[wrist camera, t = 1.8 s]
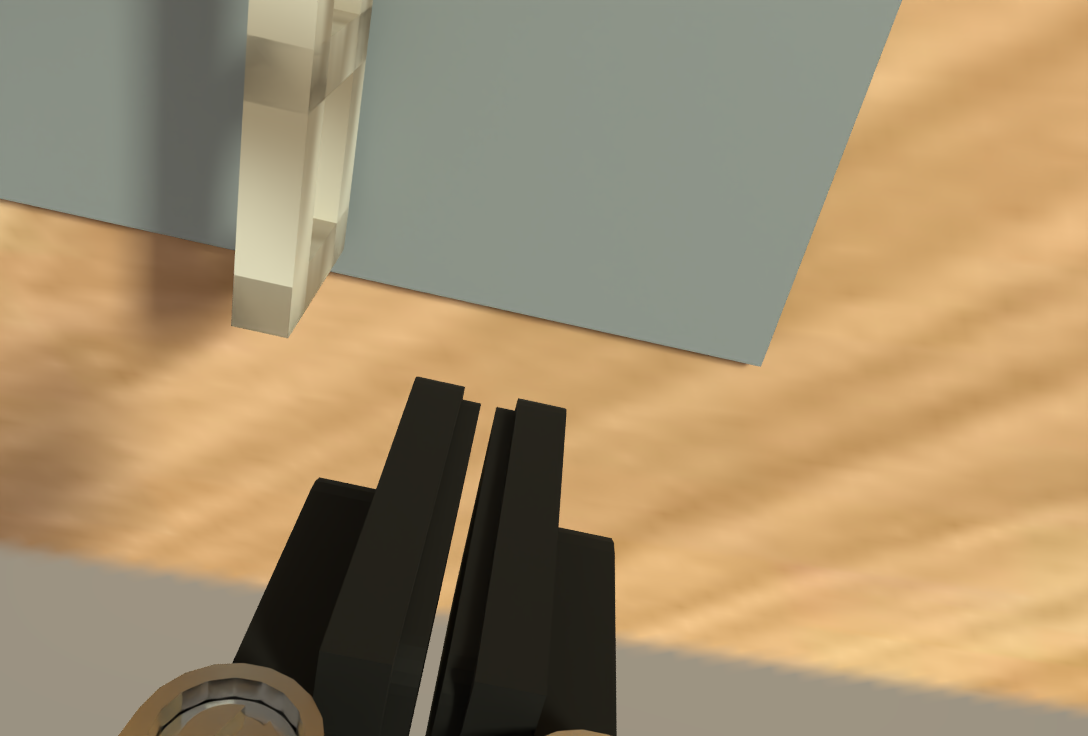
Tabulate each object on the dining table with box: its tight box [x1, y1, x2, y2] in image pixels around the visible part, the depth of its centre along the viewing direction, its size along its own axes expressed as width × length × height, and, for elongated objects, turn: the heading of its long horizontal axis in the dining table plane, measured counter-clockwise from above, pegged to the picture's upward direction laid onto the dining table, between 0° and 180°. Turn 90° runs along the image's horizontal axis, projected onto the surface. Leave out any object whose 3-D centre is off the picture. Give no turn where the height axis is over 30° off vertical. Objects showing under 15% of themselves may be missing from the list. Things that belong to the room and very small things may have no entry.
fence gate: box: [231, 0, 373, 338], centre depth 19 cm, size 11×1×5 cm, turn 168°
